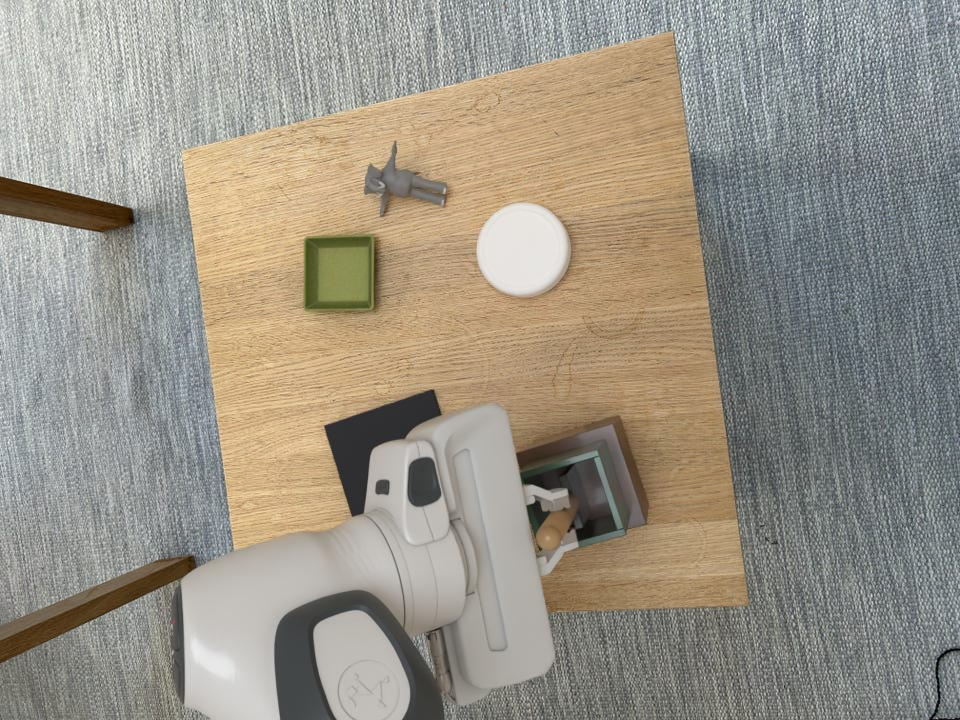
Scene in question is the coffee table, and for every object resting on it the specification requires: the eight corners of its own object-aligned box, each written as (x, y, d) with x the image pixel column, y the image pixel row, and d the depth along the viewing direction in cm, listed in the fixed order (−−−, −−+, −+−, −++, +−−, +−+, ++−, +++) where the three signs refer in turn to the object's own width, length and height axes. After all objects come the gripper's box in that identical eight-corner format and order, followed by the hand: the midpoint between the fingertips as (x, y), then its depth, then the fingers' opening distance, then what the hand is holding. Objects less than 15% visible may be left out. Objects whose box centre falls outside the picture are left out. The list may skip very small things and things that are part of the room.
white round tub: (525, 188, 85) (520, 181, 81) (590, 249, 83) (587, 245, 80) (464, 255, 86) (456, 251, 83) (527, 316, 85) (521, 315, 81)
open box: (649, 504, 82) (644, 545, 64) (560, 528, 84) (532, 575, 67) (619, 414, 83) (606, 431, 65) (532, 441, 85) (497, 465, 67)
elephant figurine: (433, 245, 87) (355, 225, 86) (439, 214, 92) (364, 195, 90) (453, 172, 80) (368, 149, 79) (458, 142, 84) (377, 120, 83)
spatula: (596, 509, 73) (570, 570, 53) (578, 515, 74) (545, 576, 53) (580, 461, 74) (548, 503, 53) (562, 467, 74) (524, 510, 54)
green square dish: (311, 238, 91) (303, 235, 89) (380, 236, 89) (373, 233, 87) (311, 312, 91) (302, 311, 89) (380, 311, 89) (373, 310, 87)
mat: (482, 541, 86) (480, 542, 86) (371, 572, 89) (369, 574, 89) (433, 389, 87) (431, 389, 87) (325, 425, 91) (323, 425, 90)
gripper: (464, 728, 50) (621, 655, 57) (405, 420, 51) (567, 386, 58) (421, 704, 56) (570, 640, 63) (368, 426, 56) (521, 394, 64)
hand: (568, 516), depth 60 cm, fingers closed on spatula, 2 cm apart
